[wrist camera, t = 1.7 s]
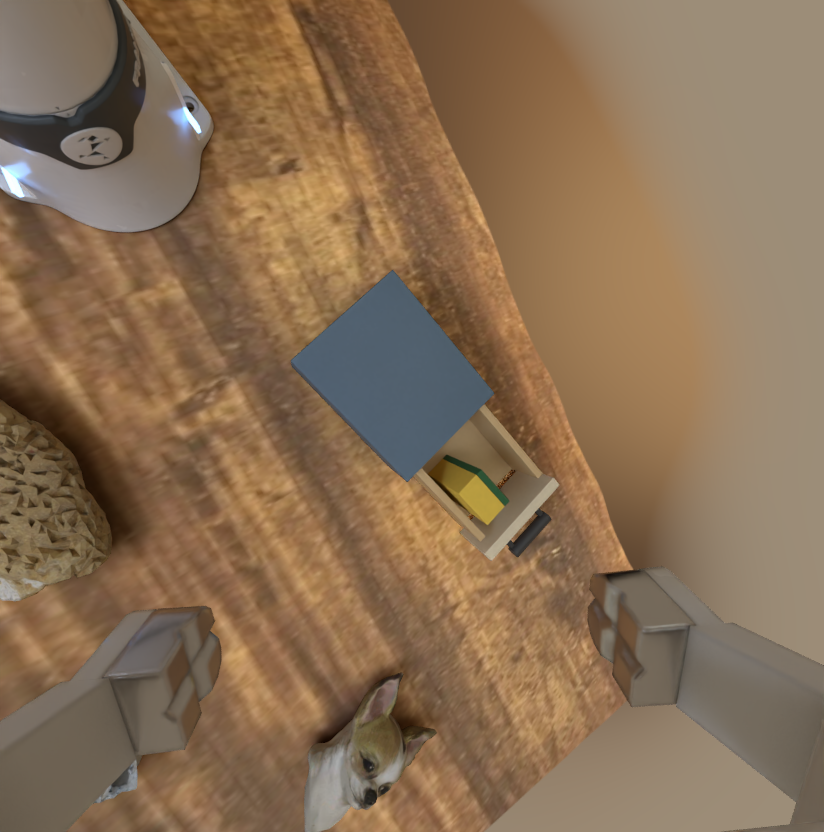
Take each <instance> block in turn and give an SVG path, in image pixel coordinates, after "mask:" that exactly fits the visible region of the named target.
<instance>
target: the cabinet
mask: <svg viewBox="0 0 824 832" xmlns="http://www.w3.org/2000/svg"><path fill="white" fill-rule="evenodd" d="M291 365H292V367H293V368H294V369H295V370H296V371H297V372H298V373H299V374H300V375H301V377H302V378H303V379H304V380H305V381H306V382H307V383H308V384H309V385H310V386H311V387H312V388H313V389H314V390H315V391H316V392H317V393H318V394H319V395H320V396H321V397H322V398H323V399H324V400H325V401H326V402H327V403H328V404H329V405H330V406H331V408H332V409H333V410H334V411H335V412H336V413H337V414H338V415H339V416H340V417H341V418H342V419H343V420H344V421H345V422H346V423H347V424H348V425H349V426H350V427H351V428H352V429H353V430H354V431H355V432H356V433H357V434H358V435H359V436H360V438H361V439H362V440H363V441H364V442H365V443H366V444H367V445H368V446H369V447H370V448H371V449H372V450H373V451H374V452H375V453H376V454H377V455H378V456H379V457H380V458H381V459H382V460H383V461H384V462H385V463H386V464H387V465H388V466H389V467H390V468H391V469H392V470H394V471H395V472H396V473H397V474H398V475H400V476H401V477H402V478H403V479H404V480H406V481H407V482H408V481H409V480H410V479H411V478H412V477H413V476H414V475H415V474H416V473H417V472H418V471H419V470H420V469H421V468H422V467H423V466H424V465H425V464H426V463H427V462H428V461H429V460H430V459H431V458H432V457H433V456H434V455H435V453H436V452H437V451H438V450H439V449H440V448H441V447H442V446H443V445H444V444H445V443H446V442H447V441H448V440H449V439H450V438H451V437H452V436H453V435H454V434H455V433H456V432H457V431H458V430H459V429H460V428H461V427H462V426H463V425H464V424H465V423H466V422H467V421H468V420H469V419H470V418H471V417H472V416H473V415H474V414H475V413H476V412H477V411H478V410H479V409H480V408H481V407H482V406H483V405H484V404H485V403H486V402H487V401H488V400H489V399H490V398H491V397H492V396H493V394H494V392H493V391H492V390H491V388H490V387H489V386H488V385H487V384H486V382H485V381H484V380H483V379H482V377H481V376H480V375H479V374H478V373H477V371H476V370H475V369H474V368H473V367H472V365H471V364H470V363H469V362H468V360H467V359H466V358H465V357H464V356H463V354H462V353H461V352H460V351H459V349H458V348H457V347H456V346H455V345H454V343H453V342H452V341H451V340H450V339H449V337H448V336H447V335H446V334H445V332H444V331H443V330H442V329H441V328H440V326H439V325H438V324H437V323H436V322H435V320H434V319H433V318H432V317H431V315H430V314H429V313H428V312H427V311H426V309H425V308H424V307H423V306H422V305H421V303H420V302H419V301H418V300H417V298H416V297H415V296H414V295H413V294H412V292H411V291H410V290H409V289H408V288H407V286H406V285H405V284H404V283H403V281H402V280H401V279H400V278H399V277H398V275H397V274H396V273H395V272H394V271H393V270H392V271H391V272H390V273H388V274H387V275H386V276H385V277H384V278H383V279H382V280H381V281H379V282H378V283H377V284H376V285H375V286H374V287H373V288H372V289H370V290H369V291H368V292H367V293H366V294H365V295H364V296H363V297H361V298H360V299H359V300H358V301H357V302H356V303H355V304H354V305H352V306H351V307H350V308H349V309H348V310H347V311H346V312H345V313H343V314H342V315H341V316H340V317H339V318H338V319H337V320H336V321H334V322H333V323H332V324H331V325H330V326H329V327H328V328H327V329H325V330H324V331H323V332H322V333H321V334H320V335H319V336H318V337H316V338H315V339H314V340H313V341H312V342H311V343H310V344H309V345H307V346H306V347H305V348H304V349H303V350H302V351H301V352H300V353H298V354H297V355H296V356H295V357H294V358H293V359H292V360H291Z"/></svg>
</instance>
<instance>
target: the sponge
mask: <svg viewBox="0 0 824 832" xmlns="http://www.w3.org/2000/svg"><path fill="white" fill-rule="evenodd" d="M110 530H111V529H110V525H109V523H108V522H107V520H106V514H105V512H104V511H103V510H102V508H101V507H100V506H99V505H98V504H97V502H96V500H95V498H94V497H93V496H92V494H91V493H89V492H88V491H87V490H86V489H85V484H84V481H83V477H82V471H81V469H80V467H79V465H78V462H77V460H76V458H75V456H74V455H73V453H72V452H71V451H70V450H69V449H67V448H66V447H65V446H64V445H63V443H62V442H61V441H59V440H58V439H57V438H56V437H55V436H53V434H52V433H51V432H50V431H49V430H46V429H45V427H44V426H43V425H42V424H40V423H38V422H36V421H30V420H29V419H27V418H26V416H23V415H22V414H20V413H19V412H18V411H16V410H15V409H13V408H11V407H10V406H8V405H7V404H6V403H5V402H4V401H2V400H0V599H1V600H12V601H19V600H22V599H25V598H27V597H30V596H32V595H35V594H37V593H38V592H39V591H41V590H42V589H43V588H44V587H45V586H46V585H49V584H55V583H57V582H59V581H62V580H66V579H70V578H71V577H72V576H73V575H75V576H76V577H77V578H78V577H81V576H84V575H87V574H90V573H92V572H93V571H95V570H96V569H97V568H98V567H99V566H101V565H102V564H103V563H104V562H105V561H106V560H107V559H108V557H109V556H110V554H111V545H112V535H111V531H110Z"/></svg>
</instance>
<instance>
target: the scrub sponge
mask: <svg viewBox="0 0 824 832" xmlns="http://www.w3.org/2000/svg"><path fill="white" fill-rule="evenodd" d="M428 475H429V476H430V477H431V478H432V479H433V480H434V482H435V483H436V484H437V485H438V486H439V487H440V488H441V489H442V490H443V491H444V492H445V493H446V494H447V495H448V496H449V497H450V499H451V500H453V501H454V502H455V503H457V504H458V505H460V506H461V507H462V508H464V509H465V510H467V511H468V512H469V513H471V514H472V515H474V516H475V517H477V518H478V519H479V520H481V521H482V522H484V523H485V524H486V525H488V524H489V523H490V522H491V521H492V520H493V519H494V518H495V517H496V516H497V514H498V513H499V512H500V511H501V510H502V509H503V508H504V507H505V506H506V505H507V504H508V502H509V500H508V499H507V497H506V496H505V495H504V494H503V493H502V492H501V491H500V490H499V488H498V487H497V486H496V485H495V484H494V483H493V482H492V481H491V479H490V478H489V477H488V476H487V475H486V474H485V473H484V472H483V470H482V469H479V468H477V467H475V466H472V465H470V464H468V463H465V462H463V461H461V460H458V459H456V458H454V457H451V456H449V455H446V456H445V457H444V458H443V459H442V460H441V461H440V462H439V463H438V464H437V465H436V466H435V467H434V468H433V469H432V470H431V471H430V472H429V473H428Z"/></svg>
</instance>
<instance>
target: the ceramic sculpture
mask: <svg viewBox="0 0 824 832" xmlns="http://www.w3.org/2000/svg"><path fill="white" fill-rule="evenodd" d="M402 677H403V673H398V674H395V675H392V676H389V677H387V678H385V679H383V680H381V681H380V682H378V683H376V684H375V685H373V687H372V688H371V689H370V690H369V691H368V692H367V694H366V695H365V697H364V698H363V700H362V702H361V704H360V706H359V708H358V709H357V712H356V714H355V716H354V719H352V720H351V721H350V722H349V723H348V724H347V725H346V726H345V728H344V729H342V730H341V731H340V732H339V733H338V734H337V735H336V736H335V737H334V738H333V739H332V740H330V741H329V742H327V743H317V744H314V745H313V746H312V747H311V749H310V750H309V753H308V761H309V774H308V778H307V782H306V786H305V798H304V805H305V809H304V814H305V832H320V831H323V830H326V829H329V828H331V827H332V826H333V825H334V824H336V823H337V822H338V821H340V819H341V818H342V817H343V816H344V815H345V813H346V812H347V811H348V809H349V808H350V807H351V806H352V807H353V808H355V809H357V810H360V809H365V810H367V809H369V808H370V807H371V806H372V805H373V804H374V803H375V802H376V800H377V797H379V796H381V795H383V794H384V793H386V792H387V791H388V790H390V788H391V785H392V784H394V783H396V782H397V781H398V780H399V779H400V777H401V774H402V772H403V771H404V769H405V768H406V767H407V766H409V765H410V764H411V763H412V761H413V760H414V759H415V755H416V754H417V753H418V752H419V750H420V749H421V747H422V745H423V744H424V742H426V741H427V740H428V739H430V738H432V737H433V736H434V735H435V734H436V733H437V732H436V730H434V729H431V728H424V727H419V726H408V727H406V728H404V729H403V730H401V729H400V726H399V724H398V722H397V721H396V720H395V718H393V717H392V716H391V715H390V713H391V712H392V710H393V708H394V706H395V703H396V700H397V693H398V689H399V684H400V681H401V679H402Z"/></svg>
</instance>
